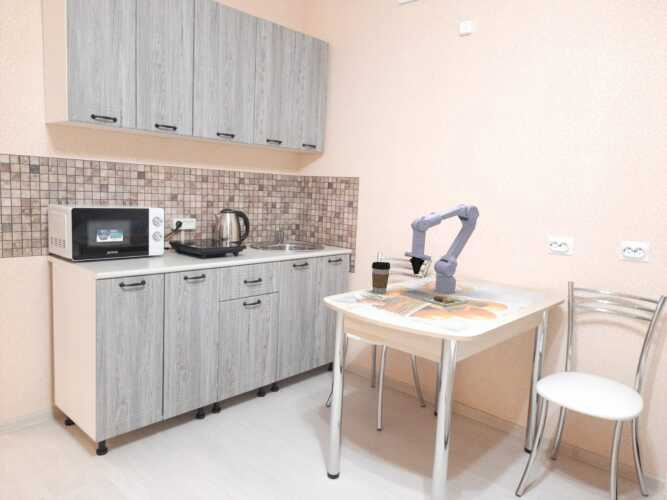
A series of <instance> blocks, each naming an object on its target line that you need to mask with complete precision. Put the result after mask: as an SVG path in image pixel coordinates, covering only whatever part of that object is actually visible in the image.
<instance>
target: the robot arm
mask: <svg viewBox="0 0 667 500" xmlns="http://www.w3.org/2000/svg"><path fill="white" fill-rule="evenodd" d="M456 216H457V218H458V219H459V220H460V222H461V225H462V227H461V228H460V229H459V232H458V233H457V234H456V236H455V238H454V240H453V242H452V244H451V245H450V247H449V248H448V250H447V252H446V253H445V254H444V255H442V256H441V257H440V258H439V259H438V260H437V261H436V262H435V263H434V266H433V269H434V271H435V272H436V273H435V286H434V292H435V293H438V294H441V295H442V294H443V295H447V294H448V295H449V294H452V293H453V294H455V293H456V286H457V284H456V283H457V280H456V277H455V276H454V275H455V273H456V270H457V269H456V268H457V266H458V261H457V259H458V257H459V256H460V254H461V253H462V251H463V250H464V248H465V246H466V244H467V243H468V241H469V240H470V238H471V236H472V234H473V233H474V231H475V229H476V226H477V220H478V218H479V217H480V212H479V209H478V207H477V206H476V205H473V204H471V205H470V204H458V205H455V206H454V207H451V208H449V209H447V210H445V211H442V212H440V213H438V212H437V211H436V212H434V211H431V212H430V214H427V215H422V216H421V218H417V217H416V218H415V219H413V220H412V223H410V226H411V229H412V244H411V252H409V251H404V257H408V258H409V261H410V264H411V267H412V271H413V272H412V273H413V274H414V275H419V274H420V271H421V268H422V267H423V265H424V263H425V262H430V261H432V256H429V255H427V254H425V248H426V247H425V245H426V235H427V231H428V230H429V229H430V228H433V227H435V226H437V225H438V226H439V225H440V224H441V223H442V221H444V220H446V219H450V218H453V217H456Z"/></svg>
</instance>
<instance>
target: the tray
mask: <svg viewBox="0 0 667 500" xmlns="http://www.w3.org/2000/svg"><path fill="white" fill-rule="evenodd" d="M442 296H443V297H446V298H451V299H455V300H456V302H455V303H449V304H445V303H440V302H437V301H434V300H433V299H432V300H428V299H425V298H423V301H422V302H426V303H429V304H432V305H436V306H439V307H443V308H448V307H454V306H458V305H459V306H460V305H465V304H467V301H466V300H464V299H460V298H455V297H451V296H447V295H446V294H443V295H442Z"/></svg>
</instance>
